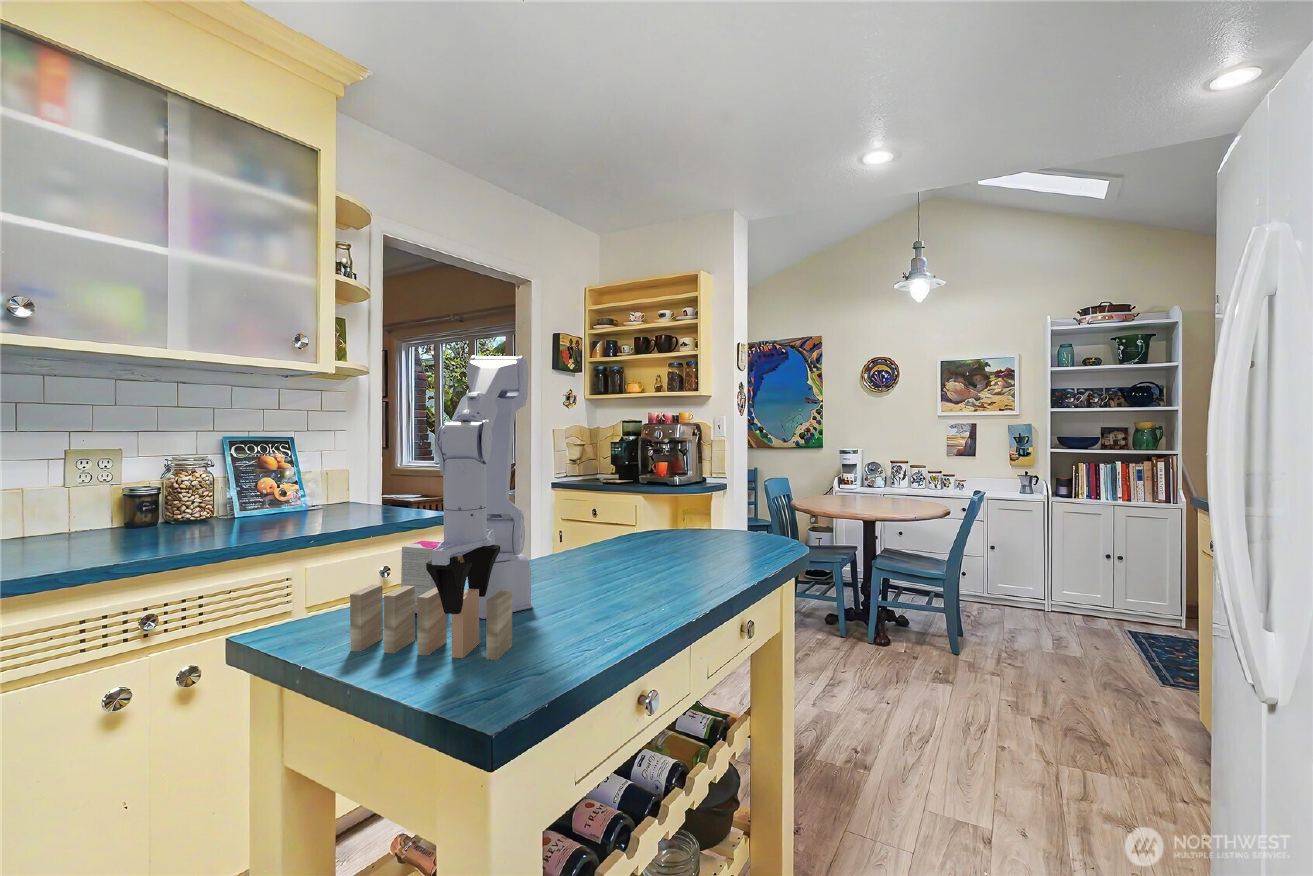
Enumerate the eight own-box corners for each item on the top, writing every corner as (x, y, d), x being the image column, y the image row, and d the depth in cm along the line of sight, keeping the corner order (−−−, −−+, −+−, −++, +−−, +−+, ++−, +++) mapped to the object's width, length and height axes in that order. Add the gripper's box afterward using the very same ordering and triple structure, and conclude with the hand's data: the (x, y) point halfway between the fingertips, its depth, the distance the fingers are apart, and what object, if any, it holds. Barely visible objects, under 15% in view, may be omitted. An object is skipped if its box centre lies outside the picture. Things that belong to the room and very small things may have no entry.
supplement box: (431, 617, 95) (431, 548, 95) (399, 615, 96) (399, 546, 96) (450, 607, 101) (450, 541, 101) (420, 604, 102) (419, 539, 102)
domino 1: (382, 638, 86) (382, 584, 86) (361, 651, 81) (360, 594, 81) (372, 638, 86) (372, 584, 86) (350, 651, 81) (350, 594, 81)
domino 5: (512, 646, 83) (512, 590, 83) (497, 660, 78) (497, 601, 78) (501, 645, 83) (501, 590, 83) (486, 659, 78) (486, 600, 78)
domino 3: (446, 642, 85) (446, 587, 84) (428, 655, 80) (428, 597, 79) (436, 641, 85) (436, 587, 85) (417, 655, 80) (417, 597, 80)
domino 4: (479, 644, 84) (479, 589, 84) (462, 658, 79) (462, 599, 79) (468, 643, 84) (468, 588, 84) (451, 657, 79) (451, 598, 79)
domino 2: (414, 640, 85) (414, 586, 85) (394, 653, 80) (394, 596, 80) (404, 639, 86) (404, 585, 85) (384, 652, 81) (383, 595, 80)
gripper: (468, 516, 73) (468, 623, 74) (512, 501, 88) (513, 590, 88) (416, 515, 74) (417, 620, 75) (468, 500, 89) (469, 588, 89)
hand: (465, 604), depth 81 cm, fingers open, 7 cm apart
